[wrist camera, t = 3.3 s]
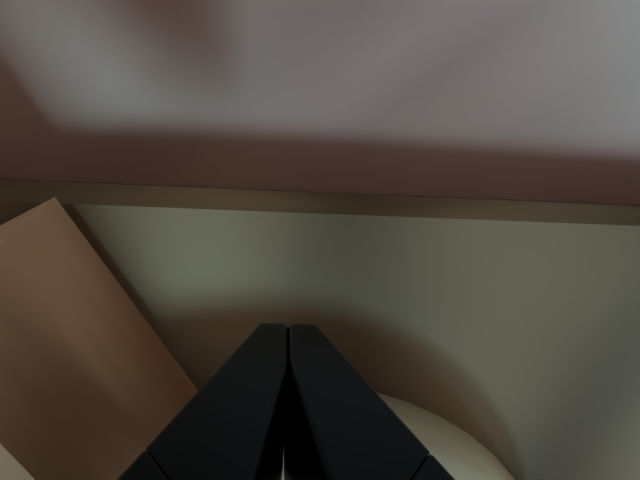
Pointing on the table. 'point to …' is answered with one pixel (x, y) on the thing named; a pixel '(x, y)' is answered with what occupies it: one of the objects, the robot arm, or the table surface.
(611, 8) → the table surface
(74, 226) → the flange plate
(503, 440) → the beige square tray
